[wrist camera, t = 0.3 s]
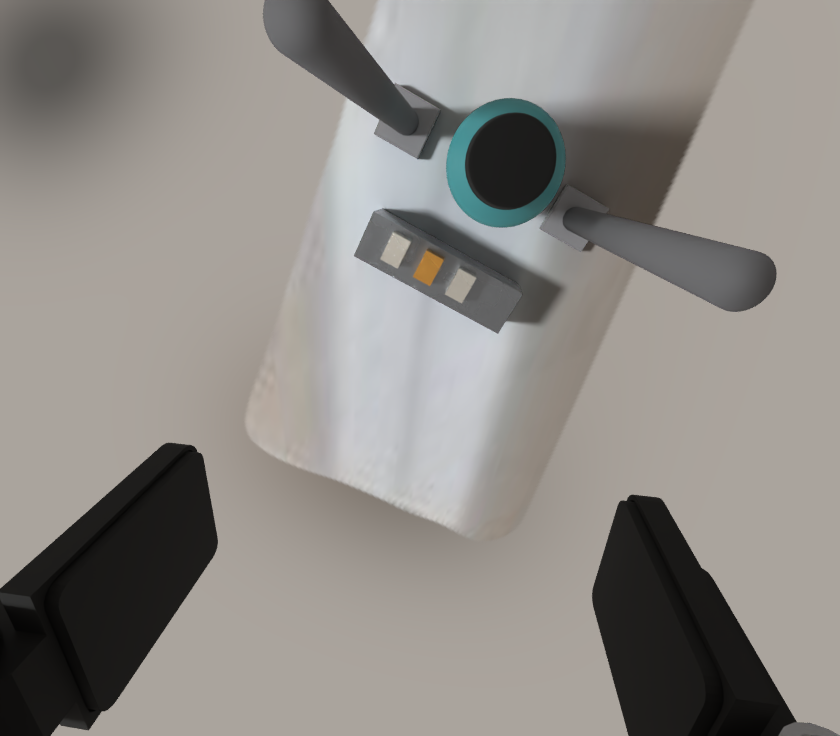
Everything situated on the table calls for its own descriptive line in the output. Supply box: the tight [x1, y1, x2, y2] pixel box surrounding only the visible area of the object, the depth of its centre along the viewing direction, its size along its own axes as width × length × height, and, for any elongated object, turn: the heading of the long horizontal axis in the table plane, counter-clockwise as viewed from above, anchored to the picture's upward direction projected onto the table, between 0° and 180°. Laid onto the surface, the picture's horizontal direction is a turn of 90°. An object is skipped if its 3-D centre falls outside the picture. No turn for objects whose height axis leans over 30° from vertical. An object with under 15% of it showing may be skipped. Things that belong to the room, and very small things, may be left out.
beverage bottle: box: [446, 98, 566, 228], centre depth 28 cm, size 6×7×20 cm
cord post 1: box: [263, 0, 440, 159], centre depth 25 cm, size 4×4×26 cm
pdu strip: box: [354, 209, 523, 333], centre depth 39 cm, size 4×14×5 cm, turn 63°
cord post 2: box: [539, 185, 776, 312], centre depth 26 cm, size 4×4×26 cm
